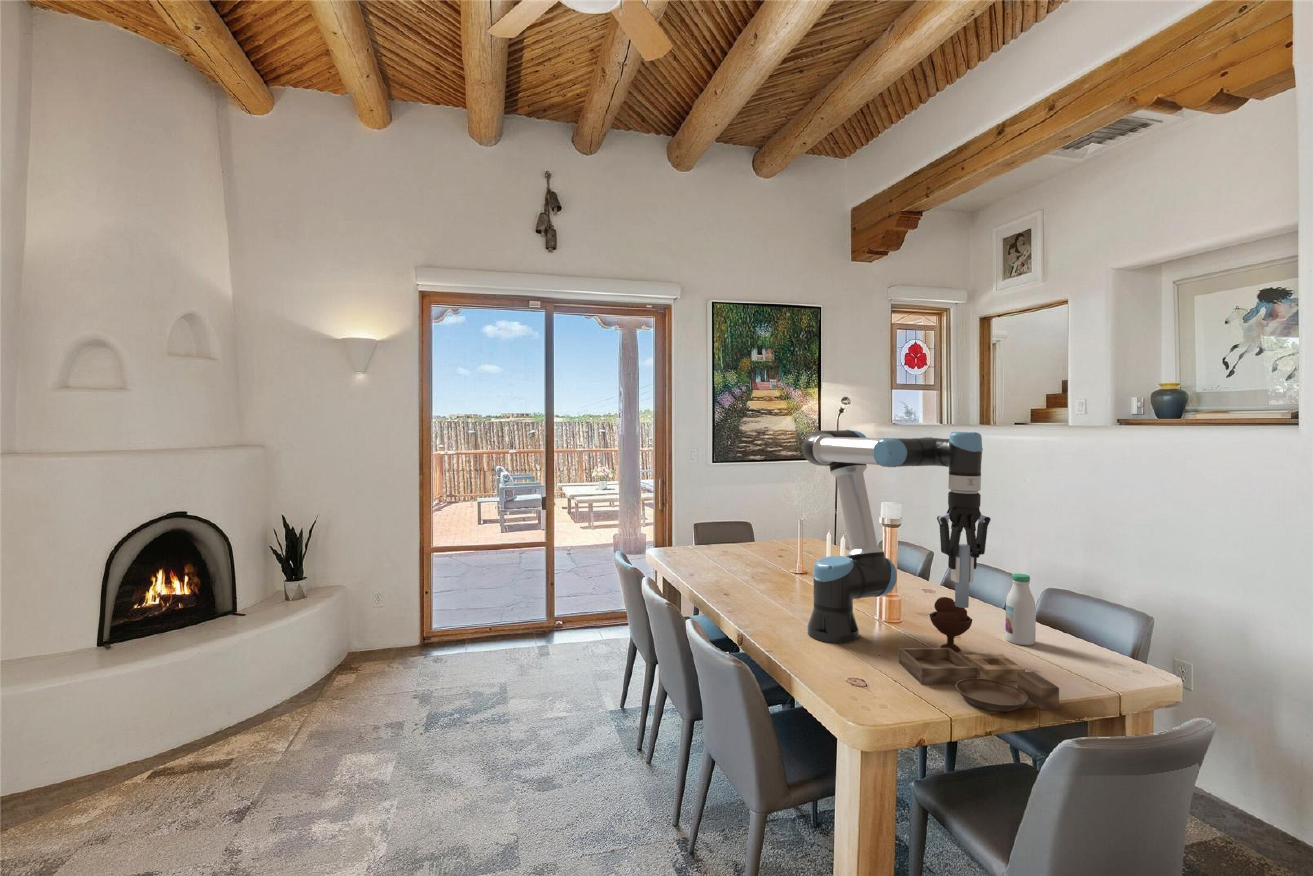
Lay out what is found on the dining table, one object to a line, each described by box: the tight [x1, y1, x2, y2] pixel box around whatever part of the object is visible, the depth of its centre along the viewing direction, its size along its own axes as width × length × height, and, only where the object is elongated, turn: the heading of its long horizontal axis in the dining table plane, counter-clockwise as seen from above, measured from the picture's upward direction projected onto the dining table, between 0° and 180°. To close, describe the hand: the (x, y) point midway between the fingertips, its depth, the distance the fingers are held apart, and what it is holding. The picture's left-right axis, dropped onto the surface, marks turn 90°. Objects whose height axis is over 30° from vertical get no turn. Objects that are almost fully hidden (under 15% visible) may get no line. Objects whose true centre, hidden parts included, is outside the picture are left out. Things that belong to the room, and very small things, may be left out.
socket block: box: [964, 654, 1026, 682], centre depth 160 cm, size 10×10×3 cm
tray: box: [898, 647, 978, 685], centre depth 160 cm, size 14×14×4 cm
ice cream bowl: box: [929, 596, 973, 654], centre depth 177 cm, size 11×11×15 cm
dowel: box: [954, 543, 970, 609], centre depth 160 cm, size 3×3×16 cm
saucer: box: [955, 677, 1029, 712], centre depth 144 cm, size 15×15×3 cm
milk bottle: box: [1004, 573, 1037, 646], centre depth 183 cm, size 8×8×20 cm
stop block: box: [1016, 671, 1060, 711], centre depth 144 cm, size 4×9×5 cm, turn 1°
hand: (961, 581), depth 160 cm, fingers closed on dowel, 3 cm apart
